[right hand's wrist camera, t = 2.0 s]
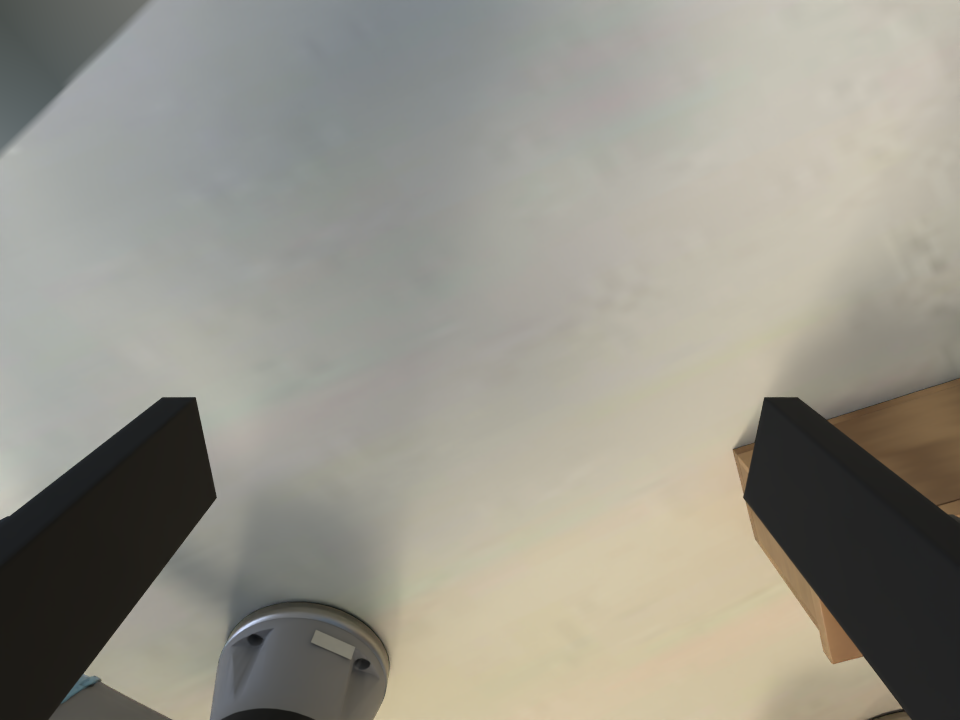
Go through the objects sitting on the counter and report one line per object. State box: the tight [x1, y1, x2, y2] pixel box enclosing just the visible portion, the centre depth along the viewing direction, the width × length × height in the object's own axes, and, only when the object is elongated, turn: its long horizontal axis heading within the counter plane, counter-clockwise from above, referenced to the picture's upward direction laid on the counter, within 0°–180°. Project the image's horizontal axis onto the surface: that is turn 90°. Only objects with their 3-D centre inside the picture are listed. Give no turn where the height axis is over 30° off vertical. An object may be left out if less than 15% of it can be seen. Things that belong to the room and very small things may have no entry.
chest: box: [733, 378, 960, 630], centre depth 38 cm, size 17×9×11 cm, turn 111°
